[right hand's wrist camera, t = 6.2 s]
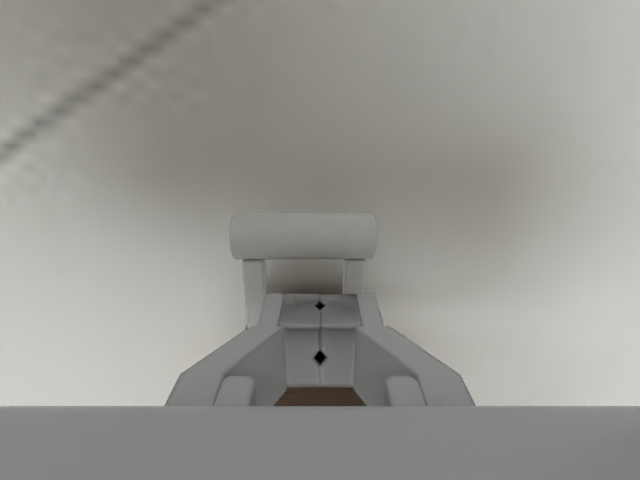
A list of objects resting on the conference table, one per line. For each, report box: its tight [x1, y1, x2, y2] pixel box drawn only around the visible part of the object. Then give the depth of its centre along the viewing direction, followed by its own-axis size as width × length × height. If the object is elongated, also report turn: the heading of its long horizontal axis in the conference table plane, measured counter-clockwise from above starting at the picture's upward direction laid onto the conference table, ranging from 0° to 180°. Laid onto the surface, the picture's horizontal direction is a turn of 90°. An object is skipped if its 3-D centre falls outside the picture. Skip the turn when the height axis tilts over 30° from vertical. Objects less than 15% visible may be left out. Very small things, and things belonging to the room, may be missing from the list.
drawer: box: [230, 213, 377, 406], centre depth 15 cm, size 22×5×7 cm, turn 0°
